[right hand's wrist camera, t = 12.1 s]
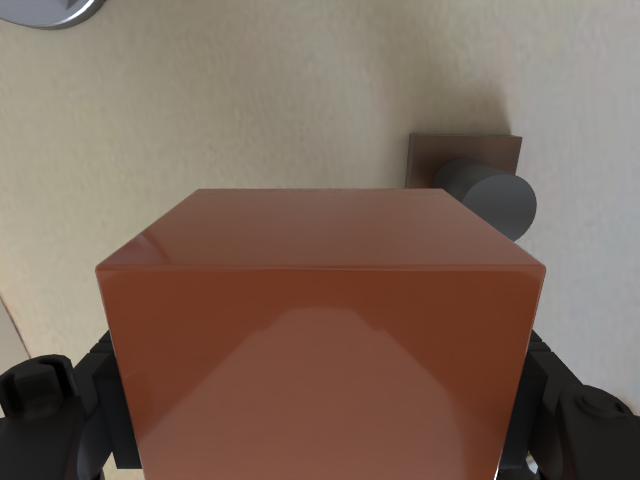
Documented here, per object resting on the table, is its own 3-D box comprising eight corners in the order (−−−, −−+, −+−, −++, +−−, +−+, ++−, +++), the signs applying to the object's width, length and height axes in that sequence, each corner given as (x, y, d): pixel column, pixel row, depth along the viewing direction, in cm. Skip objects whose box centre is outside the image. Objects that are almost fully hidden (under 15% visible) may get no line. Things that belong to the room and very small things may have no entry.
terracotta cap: (197, 188, 12) (91, 266, 6) (443, 187, 12) (549, 266, 6) (220, 384, 15) (161, 555, 9) (420, 383, 15) (479, 555, 9)
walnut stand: (410, 133, 36) (449, 148, 25) (512, 135, 36) (597, 150, 25) (387, 368, 46) (408, 454, 35) (468, 369, 46) (515, 455, 35)
